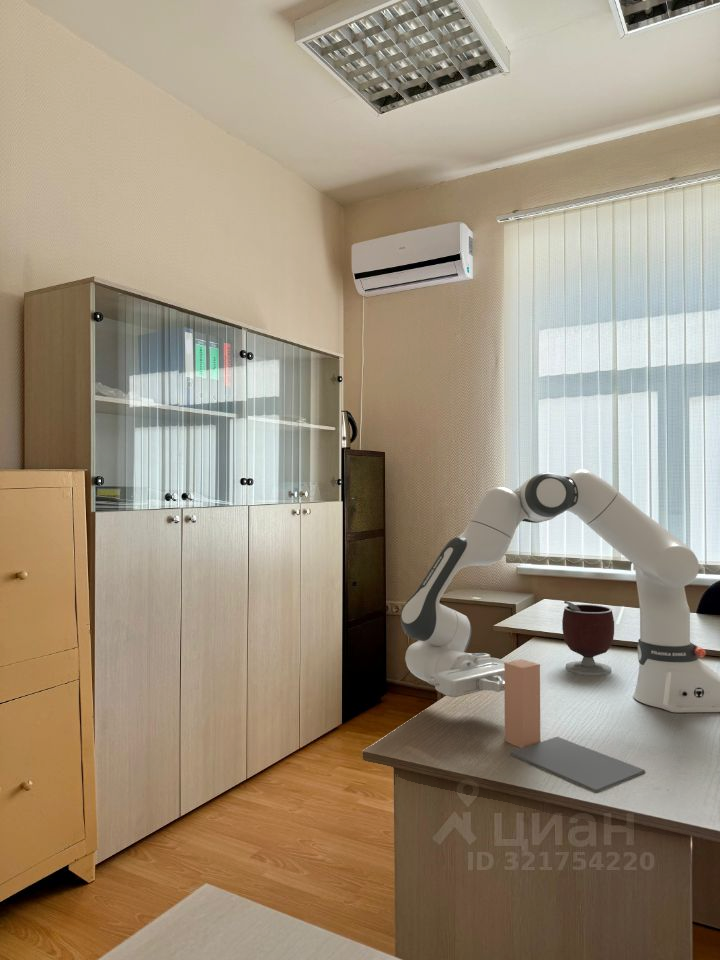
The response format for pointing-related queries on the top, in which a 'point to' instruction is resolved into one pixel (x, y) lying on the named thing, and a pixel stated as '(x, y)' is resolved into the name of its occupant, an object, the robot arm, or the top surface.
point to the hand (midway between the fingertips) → (503, 687)
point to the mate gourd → (588, 636)
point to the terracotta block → (522, 702)
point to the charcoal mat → (577, 763)
